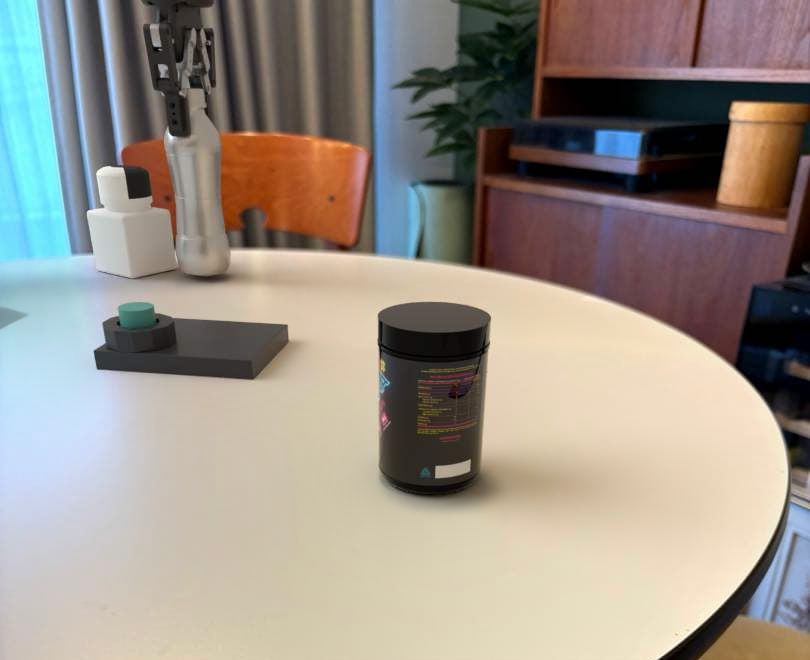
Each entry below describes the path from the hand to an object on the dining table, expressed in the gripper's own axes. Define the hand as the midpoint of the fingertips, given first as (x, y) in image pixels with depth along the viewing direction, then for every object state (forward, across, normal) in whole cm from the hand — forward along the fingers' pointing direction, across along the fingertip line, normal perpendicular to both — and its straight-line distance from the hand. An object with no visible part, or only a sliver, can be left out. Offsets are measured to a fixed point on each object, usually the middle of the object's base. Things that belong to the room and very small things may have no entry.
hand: (191, 133), depth 93 cm
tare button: (+13, +32, +6) cm, 35 cm away
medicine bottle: (+16, -2, -10) cm, 19 cm away
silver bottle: (+16, 0, 0) cm, 16 cm away
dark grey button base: (+16, +29, +10) cm, 35 cm away
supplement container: (+16, +50, +34) cm, 63 cm away
